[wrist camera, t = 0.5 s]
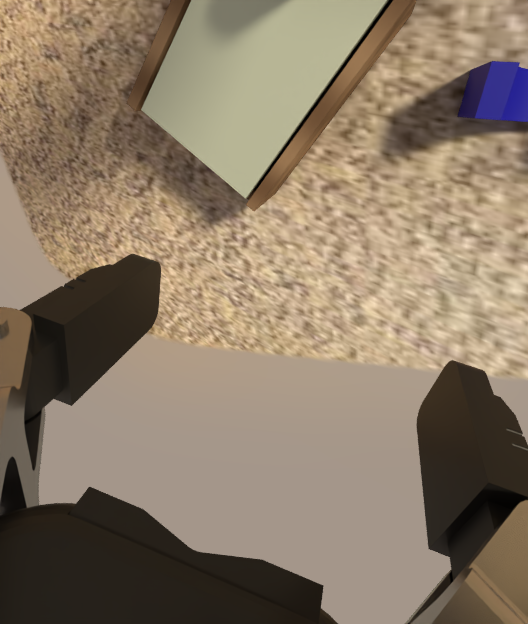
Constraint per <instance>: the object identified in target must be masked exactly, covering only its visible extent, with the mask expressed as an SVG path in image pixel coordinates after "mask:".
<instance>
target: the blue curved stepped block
mask: <svg viewBox="0 0 528 624" xmlns="http://www.w3.org/2000/svg"><path fill="white" fill-rule="evenodd" d="M518 66H519V63H518V62H496V61H492V62H489V63H487V64H484V65H482V66H479V67H477V68H474V69H472V70H471V71H470V74H469V78H468V81H467V85H466V88H465V92H464V96H463V99H462V103H461V106H460V110H459V113H458V117H467V118H478V119H492V120H508V121H522V122H528V69H525V68H521V67H518Z"/></svg>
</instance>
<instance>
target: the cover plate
mask: <svg viewBox="0 0 528 624" xmlns="http://www.w3.org/2000/svg"><path fill="white" fill-rule="evenodd" d="M388 1H389V0H191V2H190V4H189V7H188V9H187V11H186V13H185V15H184V17H183V20H182V22H181V24H180V26H179V28H178V31H177V33H176V35H175V37H174V39H173V41H172V44H171V46H170V48H169V50H168V52H167V54H166V57H165V59H164V61H163V63H162V65H161V68H160V70H159V72H158V74H157V76H156V78H155V81H154V83H153V85H152V87H151V89H150V91H149V94H148V96H147V98H146V100H145V102H144V105H143V107H142V109H141V110H142V111H143V112H144V113H145V114H147V115H148V116H149V117H150V118H151V119H152V120H154V121H155V122H156V123H157V124H158V125H159V126H161V127H162V128H163V129H164V130H165V131H166V132H168V133H169V134H170V135H171V136H172V137H174V138H175V139H176V140H177V141H178V142H179V143H181V144H182V145H183V146H184V147H185V148H186V149H188V150H189V151H190V152H191V153H192V154H194V155H195V156H196V157H197V158H198V159H199V160H201V161H202V162H203V163H204V164H205V165H206V166H208V167H209V168H210V169H211V170H212V171H214V172H215V173H216V174H217V175H218V176H219V177H221V178H222V179H223V180H224V181H225V182H226V183H228V184H229V185H230V186H231V187H232V188H234V189H235V190H236V191H237V192H238V193H239V194H241V195H242V196H243V197H244V198H245V199H246V198H247V197H249V195H250V194H251V193H252V191H253V190H254V188H255V187H256V186H257V184H258V183H259V181H260V180H261V179H262V177H263V176H264V174H265V173H266V172H267V170H268V169H269V167H270V166H271V165H272V163H273V162H274V160H275V159H276V158H277V156H278V155H279V153H280V152H281V151H282V149H283V148H284V147H285V145H286V144H287V142H288V141H289V140H290V138H291V137H292V135H293V134H294V133H295V131H296V130H297V128H298V127H299V126H300V124H301V123H302V121H303V120H304V119H305V117H306V116H307V114H308V113H309V112H310V110H311V109H312V107H313V106H314V105H315V103H316V102H317V100H318V99H319V98H320V96H321V95H322V93H323V92H324V91H325V89H326V88H327V86H328V85H329V84H330V82H331V81H332V79H333V78H334V77H335V75H336V74H337V73H338V71H339V70H340V68H341V67H342V66H343V64H344V63H345V61H346V60H347V59H348V57H349V56H350V54H351V53H352V52H353V50H354V49H355V47H356V46H357V45H358V43H359V42H360V40H361V39H362V38H363V36H364V35H365V33H366V32H367V31H368V29H369V28H370V26H371V25H372V24H373V22H374V21H375V19H376V18H377V17H378V15H379V14H380V12H381V11H382V10H383V8H384V7H385V5H386V4H387V3H388Z"/></svg>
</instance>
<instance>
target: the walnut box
mask: <svg viewBox="0 0 528 624" xmlns="http://www.w3.org/2000/svg"><path fill="white" fill-rule="evenodd" d="M416 1H417V0H389V1H388V3H387V4H386V5H385V7H384V8H383V10H382V11H381V12H380V14H379V15H378V17H377V18H376V19H375V21H374V22H373V24H372V25H371V26H370V28H369V29H368V31H367V32H366V33H365V35H364V36H363V38H362V39H361V40H360V42H359V43H358V45H357V46H356V47H355V49H354V50H353V52H352V53H351V54H350V56H349V57H348V59H347V60H346V61H345V63H344V64H343V66H342V67H341V68H340V70H339V71H338V73H337V74H336V75H335V77H334V78H333V79H332V81H331V82H330V84H329V85H328V86H327V88H326V89H325V91H324V92H323V93H322V95H321V96H320V98H319V99H318V100H317V102H316V103H315V105H314V106H313V107H312V109H311V110H310V112H309V113H308V114H307V116H306V117H305V119H304V120H303V121H302V123H301V124H300V126H299V127H298V128H297V130H296V131H295V133H294V134H293V135H292V137H291V138H290V140H289V141H288V142H287V144H286V145H285V147H284V148H283V149H282V151H281V152H280V153H279V155H278V156H277V158H276V159H275V160H274V162H273V163H272V165H271V166H270V167H269V169H268V170H267V172H266V173H265V174H264V176H263V177H262V179H261V180H260V181H259V183H258V184H257V186H256V187H255V188H254V190H253V191H252V193H251V194H250V195H249V197H247V199H248V200H249V201H248V202H247V204H246V205H247V206H248V207H249V208H251V209H252V210H253V211H255V210H256V209H258V208H259V207H260V206H261V205H262V204H264V203H265V202H266V201H267V200H268V199H269V198H271V197H272V196H273V195H274V194H275V193H276V192H277V191H278V189H279V188H280V187H281V185H282V184H283V183H284V182H285V180H286V179H287V178H288V176H289V175H290V174H291V172H292V171H293V170H294V168H295V167H296V166H297V164H298V163H299V162H300V160H301V159H302V158H303V156H304V155H305V154H306V153H307V151H308V150H309V149H310V147H311V146H312V145H313V143H314V142H315V141H316V139H317V138H318V137H319V135H320V134H321V133H322V131H323V130H324V129H325V127H326V126H327V125H328V124H329V122H330V121H331V120H332V118H333V117H334V116H335V114H336V113H337V112H338V110H339V109H340V108H341V106H342V105H343V104H344V102H345V101H346V100H347V98H348V97H349V96H350V95H351V93H352V92H353V91H354V89H355V88H356V87H357V85H358V84H359V83H360V81H361V80H362V79H363V77H364V76H365V75H366V73H367V72H368V71H369V70H370V68H371V67H372V66H373V64H374V63H375V62H376V60H377V59H378V58H379V56H380V55H381V54H382V52H383V51H384V50H385V48H386V47H387V46H388V44H389V43H390V42H391V41H392V39H393V38H394V37H395V35H396V34H397V33H398V31H399V30H400V29H401V27H402V26H403V25H404V23H405V22H406V21H407V19H408V18H409V17H410V15H411V14H412V11H413V9H414V6H415V3H416ZM190 2H191V0H171V1H170V4H169V6H168V8H167V11H166V13H165V15H164V18H163V20H162V22H161V24H160V27H159V29H158V31H157V34H156V36H155V38H154V41H153V43H152V45H151V48H150V50H149V52H148V54H147V57H146V59H145V61H144V64H143V66H142V68H141V71H140V73H139V75H138V78H137V80H136V82H135V85H134V87H133V89H132V91H131V94H130V96H129V98H128V101H127V104H128V105H129V106H130V107H131V108H133V109H134V110H135V111H142V110H141V109H142V107H143V105H144V102H145V100H146V98H147V96H148V94H149V91H150V89H151V87H152V85H153V83H154V81H155V78H156V76H157V74H158V72H159V70H160V68H161V65H162V63H163V61H164V59H165V57H166V54H167V52H168V50H169V48H170V46H171V44H172V41H173V39H174V37H175V35H176V33H177V31H178V28H179V26H180V24H181V22H182V20H183V17H184V15H185V13H186V11H187V9H188V7H189V4H190Z"/></svg>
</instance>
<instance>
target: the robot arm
mask: <svg viewBox="0 0 528 624" xmlns="http://www.w3.org/2000/svg"><path fill="white" fill-rule="evenodd" d="M160 278H161V266H160V264H159V263H158V262H156V261H153V260H150V259H147V258H144V257H141V256H138V255H135V254H130V255H128V256H127V257H125V258H123V259H122V260H120V261H118V262H117V263H115V264H114V265H110V264H109V265H105V266H102V267H98V268H94V269H90V270H89V271H87V272H85V273H83V274H82V275H80V276H78V277H76V280H75V279H73V280H71V281H70V282H68V283H66V284H65V285H64V287H63V286H61V287H59V288H57V289H56V290H54V291H52V292H51V293H49V294H47V295H46V296H44V297H42V298H40V299H38V300H37V301H35V302H33V303H32V304H30V305H28V306H26V307H24V308H23V309H21V310H17V309H13V308H7V307H0V624H338V623H337V622H336V621H335V620H334V619H333V618H332V617H331V616H330V615H329V614H327V613H326V612H325V611H324V610H322V609H321V600H322V593H323V585H320V584H318V583H316V582H313V581H311V580H309V579H306V578H304V577H302V576H299V575H297V574H294V573H292V572H290V571H288V570H285V569H283V568H280V567H278V566H276V565H273V564H271V563H268V562H266V561H264V560H260V559H252V558H243V557H235V556H227V555H218V554H210V553H202V552H197V551H195V550H192V549H191V548H189V547H188V546H187V545H186V544H184V543H183V542H182V541H181V540H179V539H178V538H177V537H176V536H175V535H174V534H172V533H171V532H170V531H169V530H168V529H166V528H165V527H164V526H163V525H161V524H160V523H159V522H158V521H157V520H155V519H154V518H153V517H152V516H150V515H149V514H148V513H147V512H146V511H145V510H143V509H141V508H139V507H136V506H134V505H131V504H129V503H127V502H124V501H122V500H120V499H117V498H115V497H113V496H110V495H108V494H106V493H103V492H101V491H99V490H96V489H94V488H91V487H89V488H88V489H87V490H86V492H85V493H84V494H83V496H82V497H81V498H80V500H79V501H78V502H77V504H73V503H54V504H46V505H39V474H40V473H39V472H40V464H41V454H42V444H43V433H44V424H45V406H46V405H47V404H48V403H49V402H50V401H51V400H53V399H56V400H59V401H61V402H64V403H66V404H68V405H71V406H72V405H73V404H74V403H75V402H76V401H77V400H78V399H79V398H80V397H81V396H82V395H83V394H84V393H85V392H86V391H87V390H88V389H89V388H90V387H91V386H92V385H94V384H95V383H96V382H97V381H98V380H99V379H100V378H101V377H102V376H103V375H104V374H105V373H106V372H107V371H108V370H109V369H110V368H111V367H112V366H113V365H114V364H115V363H116V362H117V361H118V360H119V359H120V358H121V357H122V356H123V355H124V354H125V353H126V352H127V351H128V350H129V349H130V348H131V347H132V346H133V345H134V344H135V343H136V342H137V341H138V340H139V339H141V337H143V336H144V335H145V334H146V333H147V332H148V331H149V330H150V329H151V327H152V326H153V324H154V322H155V320H156V317H157V314H158V308H159V293H160ZM417 434H418V445H419V455H420V465H421V475H422V486H423V496H424V505H425V516H426V526H427V537H428V546H429V549H430V550H433V551H436V552H438V553H441V554H443V555H445V556H448V557H450V562H451V570H450V571H449V572H448V573H447V574H446V575H445V576H444V577H443V578H442V580H441V581H440V582H439V583H438V584H437V586H436V587H435V588H434V589H433V590H432V592H431V593H430V594H429V595H428V596H427V598H426V599H425V600H424V601H423V603H422V604H421V605H420V606H419V607H418V609H417V610H416V611H415V612H414V613H413V615H412V616H411V617H410V618H409V620H408V621H407V622H406V623H405V624H528V445H527V442H526V440H525V437H523V436H522V434H523V433H522V431H521V428H520V426H519V423H518V420H517V418H516V416H515V414H514V413H513V412H512V411H511V409H510V408H509V407H508V406H507V405H506V404H505V402H504V401H503V400H502V399H501V397H498V396H496V395H494V394H493V391H492V389H491V386H490V383H489V380H488V378H487V375H486V373H485V371H483V370H481V369H478V368H475V367H471V366H468V365H465V364H462V363H459V362H456V361H453V360H452V361H450V362H448V363H447V364H446V366H445V367H444V369H443V370H442V372H441V373H440V375H439V377H438V379H437V380H436V382H435V383H434V385H433V386H432V388H431V390H430V391H429V393H428V395H427V396H426V398H425V399H424V401H423V403H422V405H421V407H420V409H419V413H418V417H417Z"/></svg>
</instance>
